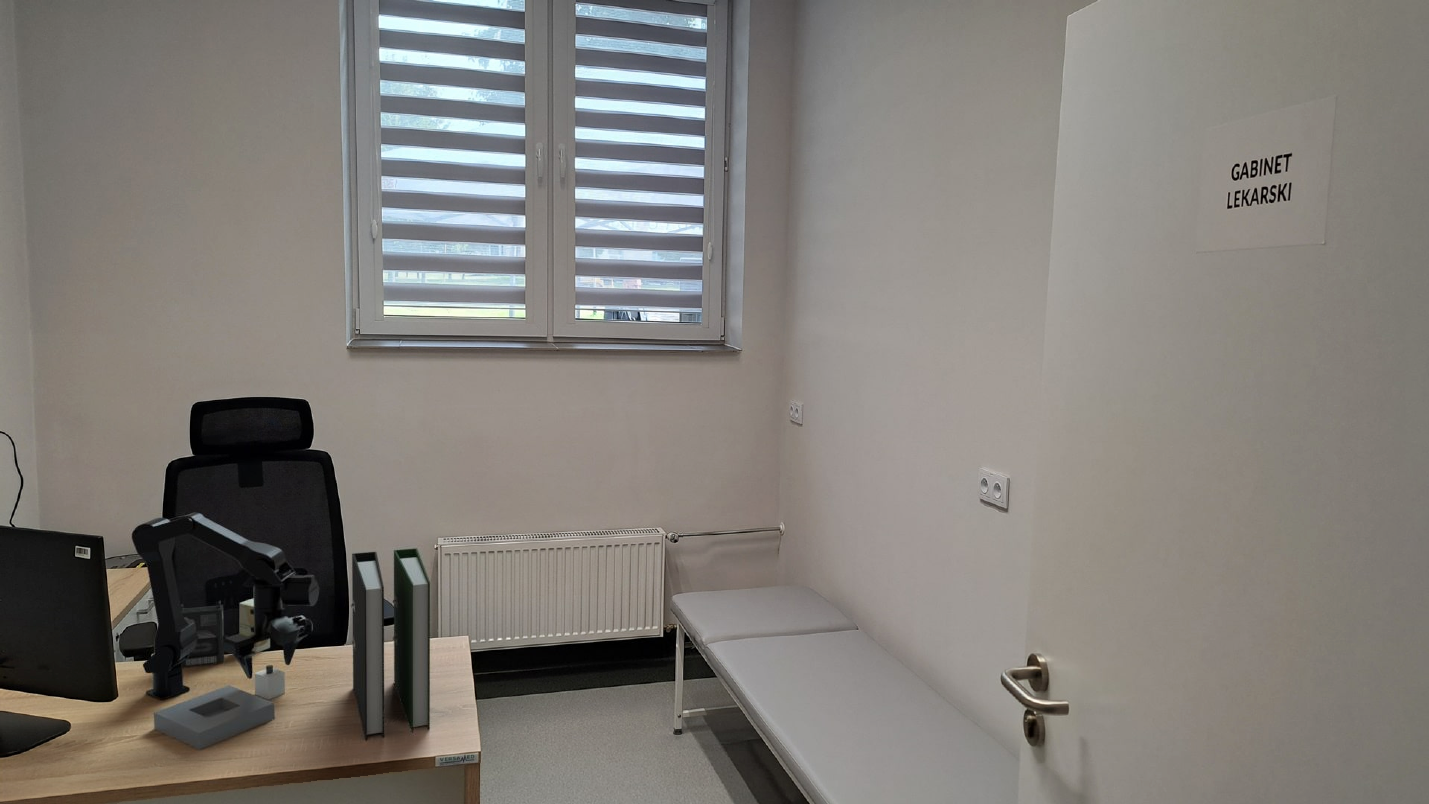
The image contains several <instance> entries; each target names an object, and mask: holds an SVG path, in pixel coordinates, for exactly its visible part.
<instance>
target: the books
mask: <svg viewBox="0 0 1429 804" xmlns="http://www.w3.org/2000/svg"><path fill="white" fill-rule="evenodd" d="M351 565H352V567H351V569H352V570H351V571H352V575H351V576H352V577H351V581H352V594H351V595H352V602H351V605H349V606H350V608H351V609H352V640H351V641H350V645H351V646H352V689H353V693H354V698H355V702H356V706H357V711H358V714H359V715H358V716H359V719H360V724H361V728H362V732H363V736H364V740H365V741H368V735H373V734H379V733H381V734H382V738H385V595H384V594H385V591H384V589H385V586H384V582H383V577H382V572H381V566H380V562H379V558H378V553H377V551H366V552H355V553H351ZM392 603H393V637H392V640H393V683H394V682H395V683H394V686H395V685H396V686H395V688H397V689H396V692H397V691H398V692H397V694H399V695H398V698H399V697H400V698H399V700H401V701H400V703H402V704H401V706H403V707H402V709H403V712H404V715H405V717H406V721H407V723H409V724H408V727H409V729H411V730H410V732H412V733H414V728H415V727H420V726H421V727H423V726H426V727H427V726H428V727H427V730H428V729H431V727H430V725H431V724H430V723H431V721H430V719H431V717H430V716H431V715H430V714H431V713H430V711H431V703H430V701H431V700H430V699H431V687H430V685H431V684H430V683H431V681H430V680H431V667H430V666H431V652H430V651H431V650H430V649H431V581H430V579H429V576H428V573H427V571H426V568H425V565H424V563H423V559H422V557H421V554H420V552H419V549H418V547H417V548H416V547H415V548H404V549H394V550H393V600H392ZM412 733H411V734H412Z"/></svg>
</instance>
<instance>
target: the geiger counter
mask: <svg viewBox="0 0 1429 804" xmlns="http://www.w3.org/2000/svg"><path fill="white" fill-rule="evenodd" d="M221 602H222V601H221V600H219V601H218V605H212V606H211V605H209V606H200V607H199V606H198V607H197V606H196V607H188V608H186V607H184V603H182V604H181V610H182V615H183V618H184V619H185V620H186V621H187V622H188V624H191V623H195V624H196V633H197V636H198V637H199V639H198V640H197V644H196V647H195V648H194V650H193V651H192V652H190V654H189V656H188V658H187V659H185V660H184V661H183V662H182V669H184V667H185V668H193V667H204V666H211V665H219V664H220V665H221V664H223V663H224V661H225V652H224V651H221V643H222V641H223V640H224V638H227V637H229V636H228V634H227V635H225V632H224V631H225V630H224V629H225V627H224V625H225V624H224V605H223V604H222V603H221Z"/></svg>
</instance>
